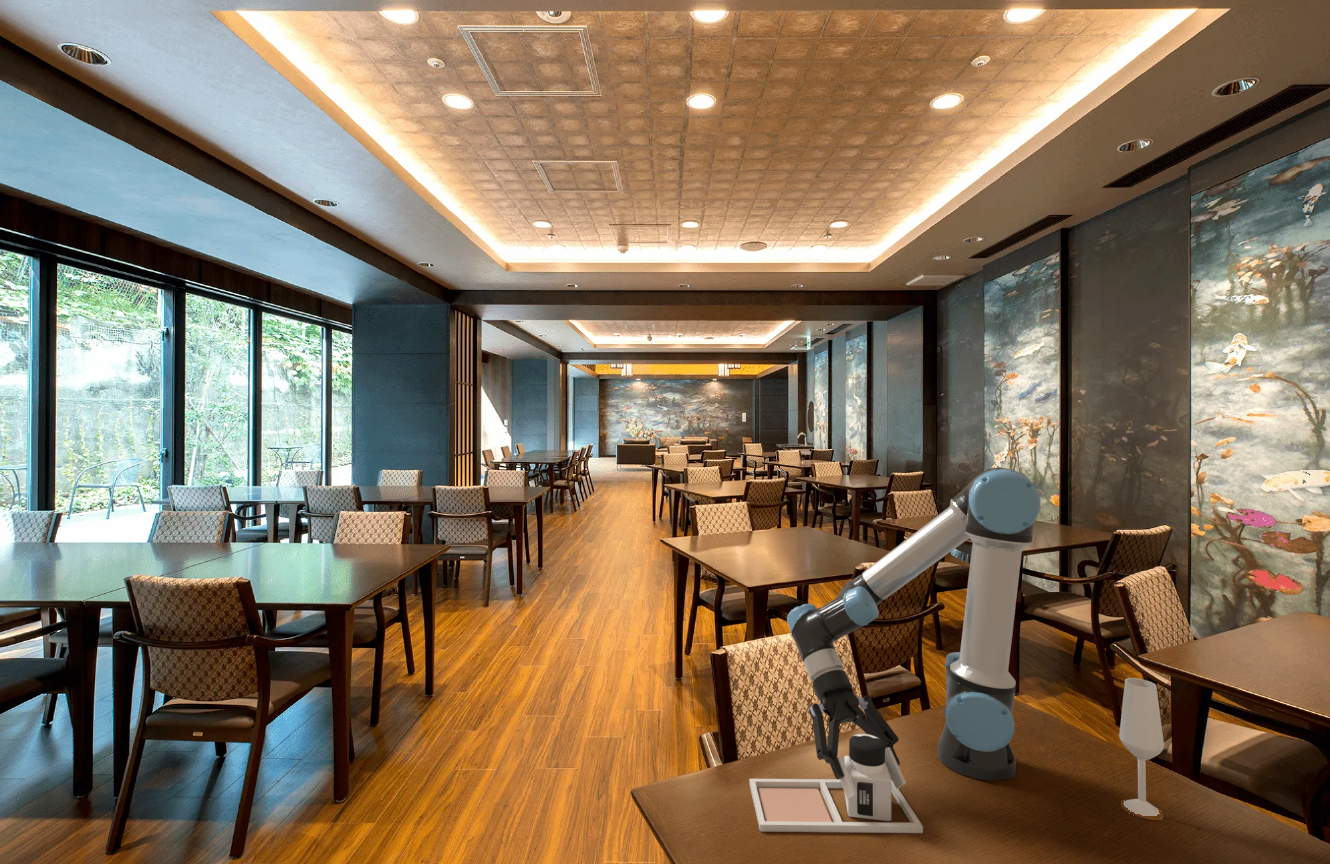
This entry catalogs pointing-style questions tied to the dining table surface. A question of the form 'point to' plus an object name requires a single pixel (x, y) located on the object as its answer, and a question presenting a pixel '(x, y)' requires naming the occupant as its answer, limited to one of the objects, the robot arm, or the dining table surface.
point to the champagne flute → (1141, 735)
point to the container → (868, 778)
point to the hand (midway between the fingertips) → (877, 791)
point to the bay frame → (815, 808)
